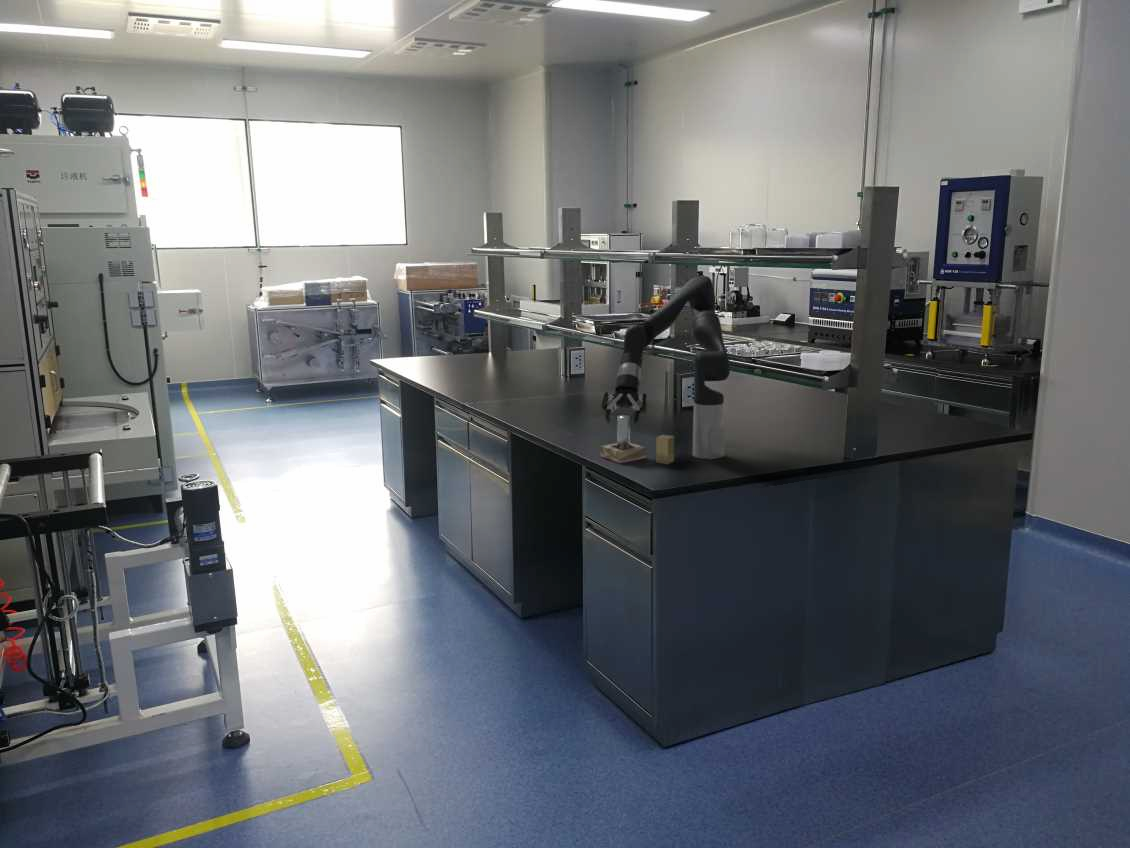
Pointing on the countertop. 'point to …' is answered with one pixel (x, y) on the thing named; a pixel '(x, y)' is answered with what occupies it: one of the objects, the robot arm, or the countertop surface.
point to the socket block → (622, 453)
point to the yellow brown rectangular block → (665, 449)
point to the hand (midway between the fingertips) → (621, 422)
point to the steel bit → (623, 432)
